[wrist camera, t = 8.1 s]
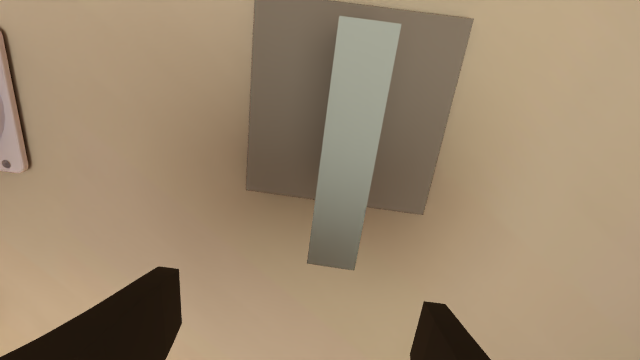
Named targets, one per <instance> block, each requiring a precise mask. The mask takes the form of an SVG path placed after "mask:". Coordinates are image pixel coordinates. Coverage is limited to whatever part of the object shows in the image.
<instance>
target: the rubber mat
mask: <svg viewBox="0 0 640 360" xmlns="http://www.w3.org/2000/svg"><path fill="white" fill-rule="evenodd" d="M339 16H345V17H353V18H360V19H368V20H376V21H383V22H391V23H399V24H401V30H400V35H399V40H398V45H397V50H396V56H395V61H394V66H393V71H392V77H391V82H390V87H389V92H388V97H387V103H386V108H385V113H384V118H383V123H382V129H381V134H380V139H379V144H378V150H377V155H376V160H375V165H374V170H373V176H372V181H371V186H370V191H369V197H368V202H367V207H370V208H377V209H384V210H391V211H398V212H405V213H413V214H420V215H423V213H424V210H425V206H426V202H427V198H428V194H429V190H430V186H431V182H432V179H433V175H434V171H435V167H436V163H437V159H438V155H439V151H440V148H441V144H442V140H443V136H444V132H445V128H446V124H447V120H448V117H449V113H450V109H451V105H452V101H453V97H454V93H455V89H456V86H457V82H458V78H459V74H460V70H461V66H462V62H463V58H464V55H465V51H466V47H467V43H468V39H469V35H470V31H471V27H472V24H473V20H474V19H471V18H463V17H455V16H447V15H439V14H431V13H424V12H416V11H408V10H400V9H392V8H384V7H377V6H369V5H361V4H353V3H345V2H337V1H330V0H255V3H254V24H253V46H252V68H251V89H250V111H249V133H248V154H247V176H246V190H249V191H257V192H264V193H271V194H278V195H285V196H292V197H299V198H306V199H313V200H315V198H316V190H317V183H318V175H319V167H320V160H321V152H322V144H323V137H324V129H325V121H326V114H327V106H328V98H329V91H330V83H331V75H332V68H333V60H334V52H335V45H336V37H337V29H338V22H339Z"/></svg>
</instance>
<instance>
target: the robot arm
mask: <svg viewBox="0 0 640 360" xmlns="http://www.w3.org/2000/svg"><path fill="white" fill-rule="evenodd" d="M8 161H9V162H10V164H11V165H10V164H9V162H8ZM27 169H28V161H27V155H26V150H25V145H24V140H23V135H22V130H21V125H20V120H19V115H18V110H17V105H16V100H15V95H14V90H13V85H12V80H11V75H10V70H9V65H8V60H7V55H6V50H5V45H4V40H3V36H2V33H1V31H0V171H6V172H13V173H21V172H24V171H26V170H27ZM181 324H182V318H181V300H180V281H179V269H174V268H166V267H157V268H155V269H153V270H152V271H150V272H148V273H147V274H145V275H144V276H142V277H140V278H139V279H137V280H136V281H134V282H132V283H131V284H129V285H128V286H126V287H125V288H123V289H121V290H120V291H118V292H117V293H115V294H113V295H112V296H110V297H109V298H107V299H105V300H104V301H102V302H100V303H99V304H97V305H96V306H94V307H92V308H91V309H89V310H87V311H86V312H84V313H82V314H80V315H79V316H77V317H75V318H73V319H72V320H70V321H68V322H66V323H65V324H63V325H61V326H59V327H58V328H56V329H54V330H52V331H51V332H49V333H47V334H45V335H43V336H41V337H40V338H38V339H36V340H34V341H32V342H30V343H28V344H26V345H24V346H22V347H20V348H18V349H16V350H14V351H12V352H10V353H8V354H6V355H4V356H2V357H0V360H165V359H166V357H167V355H168V353H169V351H170V349H171V347H172V345H173V342H174V340H175V338H176V336H177V333H178V331H179V329H180V326H181ZM410 360H491V359H490V358H489V357H488V356H487V355H486V353H485V352H484V351H483V350H482V349H481V347H480V346H479V345H478V344H477V343H476V341H475V340H474V339H473V338H472V336H471V335H470V334H469V333H468V331H467V330H466V329H465V328H464V327H463V325H462V324H461V323H460V322H459V320H458V319H457V318H456V317H455V315H454V314H453V313H452V312H451V310H450V309H449V308H448V307H447V306H446V304H440V303H433V302H425V301H424V303H423V307H422V311H421V315H420V318H419V322H418V326H417V330H416V333H415V337H414V341H413V345H412V348H411V352H410Z"/></svg>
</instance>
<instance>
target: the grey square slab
mask: <svg viewBox="0 0 640 360" xmlns="http://www.w3.org/2000/svg"><path fill="white" fill-rule="evenodd" d="M400 30H401V24H399V23H391V22H383V21H376V20H368V19H360V18H353V17H345V16H339V22H338V29H337V37H336V45H335V52H334V60H333V68H332V75H331V83H330V91H329V98H328V106H327V114H326V121H325V129H324V137H323V144H322V152H321V160H320V167H319V175H318V183H317V190H316V198H315V206H314V213H313V221H312V229H311V236H310V244H309V252H308V260H307V264H314V265H321V266H328V267H334V268H341V269H348V270H355V264H356V259H357V254H358V249H359V243H360V238H361V233H362V228H363V223H364V217H365V212H366V207H367V202H368V197H369V191H370V186H371V181H372V176H373V170H374V165H375V160H376V155H377V150H378V144H379V139H380V134H381V129H382V123H383V118H384V113H385V108H386V103H387V97H388V92H389V87H390V82H391V77H392V71H393V66H394V61H395V56H396V50H397V45H398V40H399V35H400Z"/></svg>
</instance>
